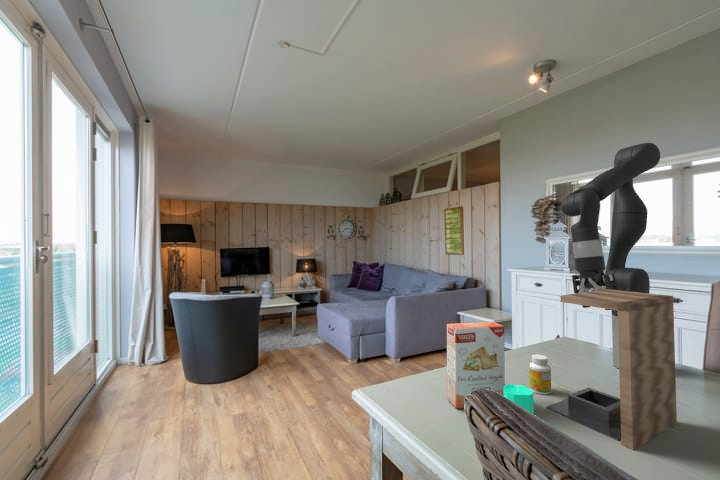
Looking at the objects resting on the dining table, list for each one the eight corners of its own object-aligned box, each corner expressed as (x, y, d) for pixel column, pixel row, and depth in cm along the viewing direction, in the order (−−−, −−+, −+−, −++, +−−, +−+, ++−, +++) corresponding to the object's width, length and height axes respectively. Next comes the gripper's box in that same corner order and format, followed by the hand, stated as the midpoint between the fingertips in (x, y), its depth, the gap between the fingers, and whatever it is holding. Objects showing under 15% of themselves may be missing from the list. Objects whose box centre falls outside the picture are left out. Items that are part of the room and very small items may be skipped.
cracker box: (456, 410, 84) (454, 328, 84) (446, 399, 90) (445, 323, 90) (507, 405, 87) (505, 325, 87) (493, 394, 92) (492, 320, 93)
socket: (582, 394, 92) (582, 379, 92) (654, 420, 78) (653, 404, 78) (546, 408, 85) (545, 392, 85) (618, 440, 70) (617, 422, 70)
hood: (608, 398, 89) (605, 289, 89) (676, 423, 76) (673, 295, 77) (563, 418, 80) (560, 295, 80) (632, 449, 67) (628, 304, 68)
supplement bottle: (525, 387, 97) (525, 353, 97) (543, 386, 97) (542, 353, 97) (537, 395, 92) (536, 360, 92) (555, 394, 92) (554, 359, 92)
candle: (538, 447, 69) (537, 389, 69) (508, 444, 70) (506, 387, 70) (530, 430, 75) (528, 377, 75) (501, 428, 76) (500, 376, 76)
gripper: (619, 252, 96) (629, 309, 94) (581, 256, 110) (590, 305, 108) (595, 255, 95) (605, 312, 93) (561, 258, 109) (569, 307, 107)
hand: (597, 308), depth 101 cm, fingers open, 8 cm apart
